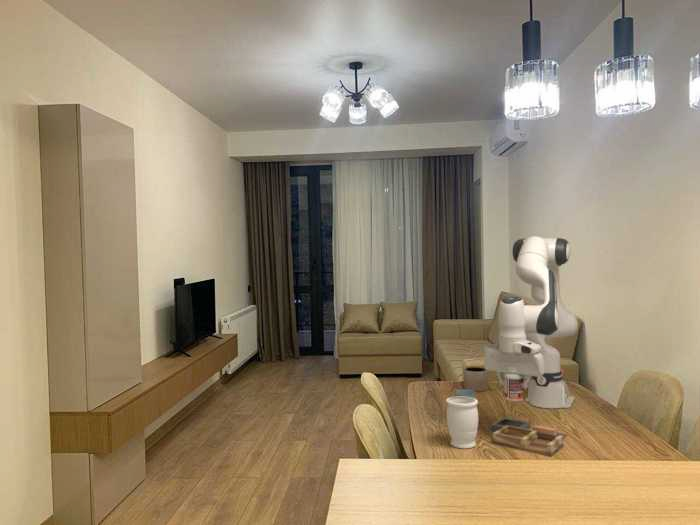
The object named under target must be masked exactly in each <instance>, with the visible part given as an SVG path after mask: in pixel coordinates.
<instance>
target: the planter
mask: <svg viewBox="0 0 700 525" xmlns="http://www.w3.org/2000/svg"><path fill="white" fill-rule="evenodd" d="M463 384H464V385H463V388H464V390H473V391H476V392H475V393H480V392H479V391H482V392H486V391H487V390H488V384H489V383H488V370H486V369H485V368H484V367H482V366H481V367H480V366H470V367H465V368H463ZM485 390H486V391H485Z"/></svg>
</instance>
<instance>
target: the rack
mask: <svg viewBox="0 0 700 525" xmlns="http://www.w3.org/2000/svg"><path fill="white" fill-rule="evenodd" d="M503 426H504V427H502V428H501V429H499V430H497V431H494V432H492V439H491V444H494V445H497V446H501V447H507V448H511V449H515V450H520V451H523V452H528V453H532V454H537V455H543V456H547V457H553V456H554V455H556V454H557V453H558V452H559V451H560V450H561V449H562V448H564V444H565V443H564V439H563V436H562V435H559V436H558V437H556V438H555V439H554V440H553V441H549V440H544V439H539V438H538V436H537V431H536V430H533V429H531V428H530V429H525V428H520V427H517V426H512V425H506V424H505V425H503Z"/></svg>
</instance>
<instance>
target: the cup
mask: <svg viewBox="0 0 700 525" xmlns="http://www.w3.org/2000/svg"><path fill="white" fill-rule="evenodd" d="M454 392H455V394H454V395H455V397H456V396H465V397H471V398H475V399H476V392H475V391H473V390H466V389H457V390H455V391H454Z"/></svg>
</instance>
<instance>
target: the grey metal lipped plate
mask: <svg viewBox="0 0 700 525" xmlns="http://www.w3.org/2000/svg"><path fill="white" fill-rule="evenodd" d="M559 435H562V436H563V440H564V439H565V438H566V437H567V436H568V435H567V434H566V433H561V432H556V436H555V435H550V434H545V433H540V432H537V436H538V438H539V439H544V440H549V441H553V440H554V439H555V438H556V437H558V436H559Z"/></svg>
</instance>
